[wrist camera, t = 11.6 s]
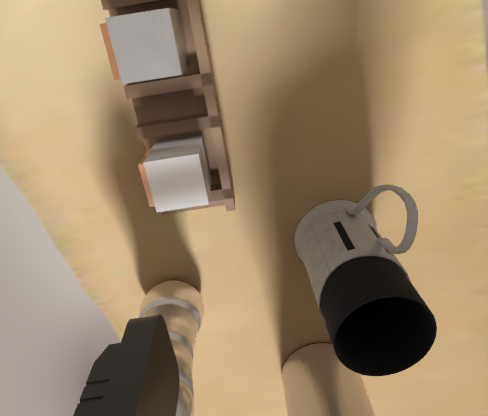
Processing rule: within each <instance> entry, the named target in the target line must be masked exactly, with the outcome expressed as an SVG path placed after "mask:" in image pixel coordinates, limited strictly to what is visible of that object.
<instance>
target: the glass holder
mask: <svg viewBox="0 0 488 416" xmlns="http://www.w3.org/2000/svg"><path fill="white" fill-rule="evenodd" d="M386 190H391V191H394V192H395V193H396V194H398V195H399V196H400V197H401V199H402V200H403V202H404V203H405V206H406V210H407V225H406V231H405V235H404V238H403V240H402V242H401V244H399V245H398V246H397V247H395V246H394V245H393V244H392V243H391V242H390V241H389V240H388V239H386V238H382V237H381V236H380V234H379V233H378V231H377V226H376V223H375V220H374V218H373V216H372V215H371V213H370V212H369V211H368V210H367V209H366V208H365V207H366V206H367V205H368V204H369V202H370V201H371V200H372V199H373V198H375V197H376V196H377V195H378V194H379V193H381V192H383V191H386ZM417 225H418V211H417V207H416V203H415V201H414V200H413V198H412V197H411V195H410V194H409V193H407V192H406V191H405V190H403V189H402V188H400V187H397V186H394V185H380V186H377V187H374V188H373V189H372V190H371V191H369V193H368V194H367V195H366V196H365V197H364V198H363V199H362V200H361V201H360V202H359V203H355V202H352V201H347V200H333V201H328V202H325V203H322V204H320V205H318V206H316V207H314V208H313V209H311V210H310V211H309V212H308V213H307V214H306V215H305V216H304V217H303V218H302V219H301V221H300V222H299V224H298V226H297V229H296V232H295V237H294V244H295V249H296V252H297V254H298V256H299V258H300V259H301V260H302V262H303V263H304V264H305V267H306V270H307V273H308V276H309V279H310V282H311V286H312V289H313V292H314V295H315V298H316V301H317V305H318V308H319V311H320V314H321V316H322V318H323V321H324V323H325V326H326V327H327V329H328V332H329V335H330V338H331V341H332V344H333V348H334V351H335V354H336V356H337V357H338V359H339V361H340V362H341V363H342V364H343V365H344V366H345V367H347V368H348V369H350V370H352V371H354V372H356V373H359V374H362V375H368V376H384V375H390V374H394V373H398V372H400V371H403V370H405V369H407V368H409V367H411V366H413V365H414V364H416V363H417V362H418V361H420V360H421V359H422V358H423V357H424V356H425V355H426V354H427V352H428V351H429V350H430V348H431V347H432V345H433V343H434V340H435V337H436V331H437V327H436V321H435V318H434V315H433V314H432V312H431V311H430V310H429V308H428V307H427V305H426V304H425V302H424V301H423V299H422V298H421V297H420V295H419V294H418V292H417V291H416V289H415V288H414V286H413V285H412V284H411V282H410V279H409V276H408V274H407V273H406V271H405V270H404V268H403V267H402V265H401V264H400V262H399V261H398V260H397V258H396V257H395V255H394V254H400V253H404V252H406V251H407V250H408V249H409V248H410V247H411V245H412V243H413V242H414V239H415V235H416V231H417ZM393 253H394V254H393Z"/></svg>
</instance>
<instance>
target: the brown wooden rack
mask: <svg viewBox="0 0 488 416" xmlns="http://www.w3.org/2000/svg"><path fill="white" fill-rule="evenodd" d="M101 2H102V6H103V10H109V13H110V17H114V16H120V15H126V14H133V13H139V12H145V11H152V10H158V9H164V8H173V9H178V10H179V14H180V20H181V25H182V30H183V35H184V41H185V46H186V51H187V57H188V62H189V67H188V68H187V69H186V70H185V72H184V73H183V74H182V75H178V76H171V77H165V78H158V79H152V80H145V81H139V82H132V83H128V84H127V85H126V86H124V89H125V92H126V96H127V99H131V98H132V101H133V105H134V108H135V112H136V116H137V120H138V125H137V127H136V128H135V130H136V134H137V137H138V140H140V139H143V143H144V147H145V150H146V153H145V154H144V156H143V158H142V159H141V161H140V162H139V164H138V167H139V171H140V174H141V178H142V181H143V185H144V189H145V192H146V196H147V200H148V203H149V207H154V206H155V208H156V212H162V215H163V214H169V213H176V212H182V211H189V210H195V209H202V208H208V207H214V206H221V205H225V206H226V211H232V210H235V195H234V189H233V184H232V178H231V172H230V167H229V161H228V155H227V150H226V144H225V138H224V133H223V127H222V121H221V116H220V110H219V105H218V99H217V93H216V88H215V82H214V76H213V71H212V65H211V59H210V54H209V48H208V42H207V37H206V31H205V25H204V20H203V14H202V8H201V3H200V0H101Z"/></svg>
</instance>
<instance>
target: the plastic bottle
mask: <svg viewBox="0 0 488 416" xmlns="http://www.w3.org/2000/svg"><path fill="white" fill-rule="evenodd" d="M155 315H162V316H163V318H164V320H165V323H166V326H167V329H168V333H169V336H170V339H171V343H172V346H173V349H174V353H175V356H176V359H177V363H178V368H179V380H180V385H179V395H178V403H177V411H176V416H193V415H194V395H193V380H192V366H193V351H194V346H195V342H196V337H197V333H198V331H199V329H200V327H201V323H202V320H203V316H204V307H203V301H202V297H201V295H200V293H199V292H198V291H197V290H196V289H195V288H194V287H192V286H191V285H189V284H187V283H185V282H182V281H177V280H171V281H166V282H162V283H159V284H158V285H156V286H154V287H153V288H152V289H150V291H149V292H148V293H147V295H146V296H145V298H144V300H143V301H142V304H141V307H140V314H139V318H142V317H148V316H155Z"/></svg>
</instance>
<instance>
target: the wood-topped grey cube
mask: <svg viewBox="0 0 488 416" xmlns="http://www.w3.org/2000/svg"><path fill="white" fill-rule="evenodd" d="M105 20H106V23H104V24H100V27H101V31H102V34H103V38H104V42H105V46H106V50H107V53H108V57H109V61H110V65H111V69H112V72H113V76H114V80H116V79H121V82H122V84H126V83H132V82H139V81H145V80H152V79H158V78H165V77H171V76H178V75H182V74H183V73H184V72H185V70H186V69H187V68H188V67H189V62H188V57H187V51H186V46H185V41H184V35H183V30H182V25H181V20H180V14H179V10H178V9H173V8H164V9H158V10H152V11H145V12H139V13H133V14H126V15H120V16H114V17H107V18H105Z"/></svg>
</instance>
